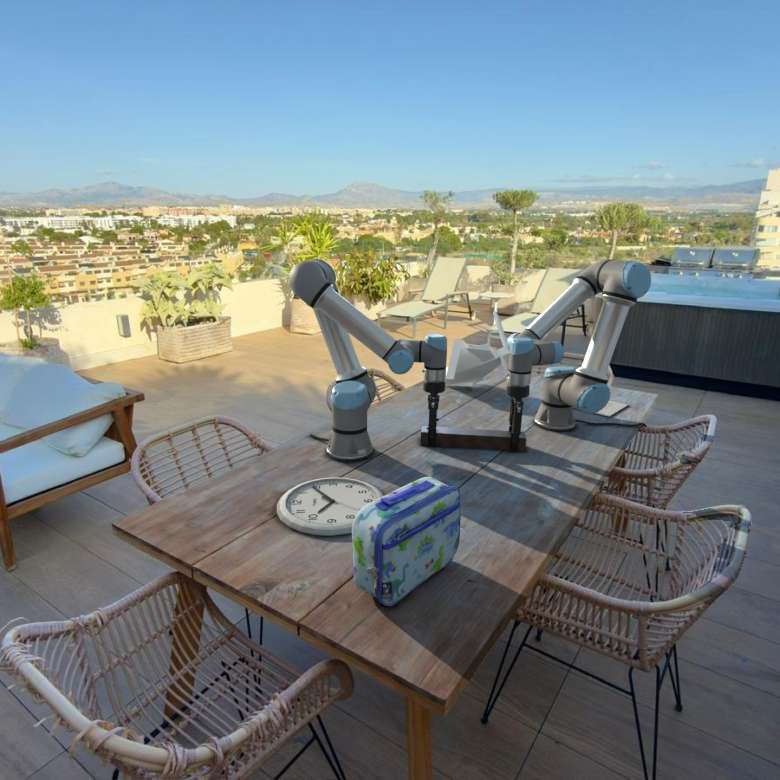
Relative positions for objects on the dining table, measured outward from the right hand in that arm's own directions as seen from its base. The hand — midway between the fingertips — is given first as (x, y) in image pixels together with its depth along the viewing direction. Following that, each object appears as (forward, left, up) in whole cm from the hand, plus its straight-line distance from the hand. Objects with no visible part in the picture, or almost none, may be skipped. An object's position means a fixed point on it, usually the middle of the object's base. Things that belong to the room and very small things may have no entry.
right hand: (512, 447), depth 182 cm
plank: (+14, 0, 0) cm, 14 cm away
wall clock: (+53, +48, 0) cm, 72 cm away
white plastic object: (+9, -63, 0) cm, 63 cm away
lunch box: (+30, +76, 0) cm, 82 cm away
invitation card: (-43, -51, 0) cm, 67 cm away
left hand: (+28, 0, 0) cm, 28 cm away
